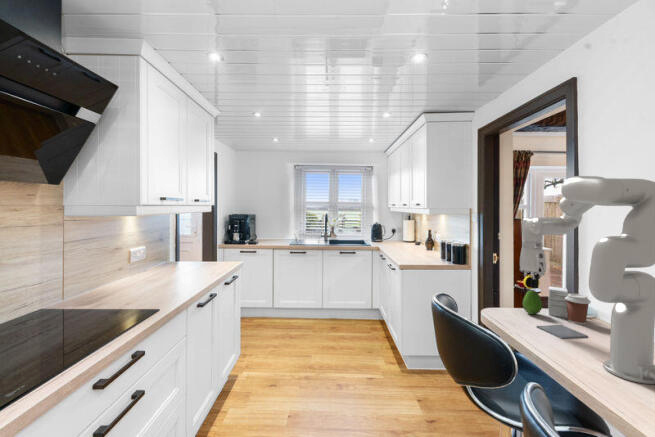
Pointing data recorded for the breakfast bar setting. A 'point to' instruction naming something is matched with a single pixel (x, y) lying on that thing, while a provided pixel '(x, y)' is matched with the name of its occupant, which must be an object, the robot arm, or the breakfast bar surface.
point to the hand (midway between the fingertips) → (531, 286)
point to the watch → (525, 282)
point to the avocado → (532, 302)
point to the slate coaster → (562, 331)
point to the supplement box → (558, 301)
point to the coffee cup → (577, 308)
